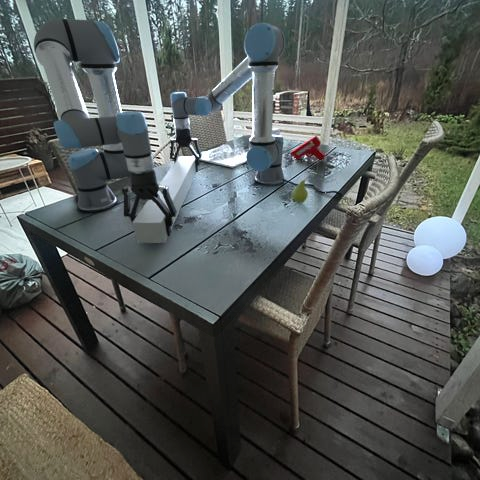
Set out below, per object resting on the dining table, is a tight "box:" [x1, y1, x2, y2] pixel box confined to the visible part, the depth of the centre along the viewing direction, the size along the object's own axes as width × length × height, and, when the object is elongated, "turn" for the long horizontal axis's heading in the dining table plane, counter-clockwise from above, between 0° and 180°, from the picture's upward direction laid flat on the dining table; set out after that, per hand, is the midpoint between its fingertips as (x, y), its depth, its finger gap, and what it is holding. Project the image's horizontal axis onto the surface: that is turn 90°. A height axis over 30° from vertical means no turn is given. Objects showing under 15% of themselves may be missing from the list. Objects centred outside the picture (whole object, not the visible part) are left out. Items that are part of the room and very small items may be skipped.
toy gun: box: [290, 135, 326, 163], centre depth 173 cm, size 18×4×15 cm
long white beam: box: [131, 155, 198, 244], centre depth 118 cm, size 74×9×8 cm, turn 179°
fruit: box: [291, 174, 311, 204], centre depth 118 cm, size 7×8×12 cm
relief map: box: [197, 143, 247, 169], centre depth 179 cm, size 27×35×5 cm
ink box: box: [272, 127, 281, 136], centre depth 204 cm, size 8×5×12 cm, turn 134°
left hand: (154, 233), depth 92 cm, fingers closed on long white beam, 9 cm apart
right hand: (187, 171), depth 147 cm, fingers closed on long white beam, 9 cm apart
